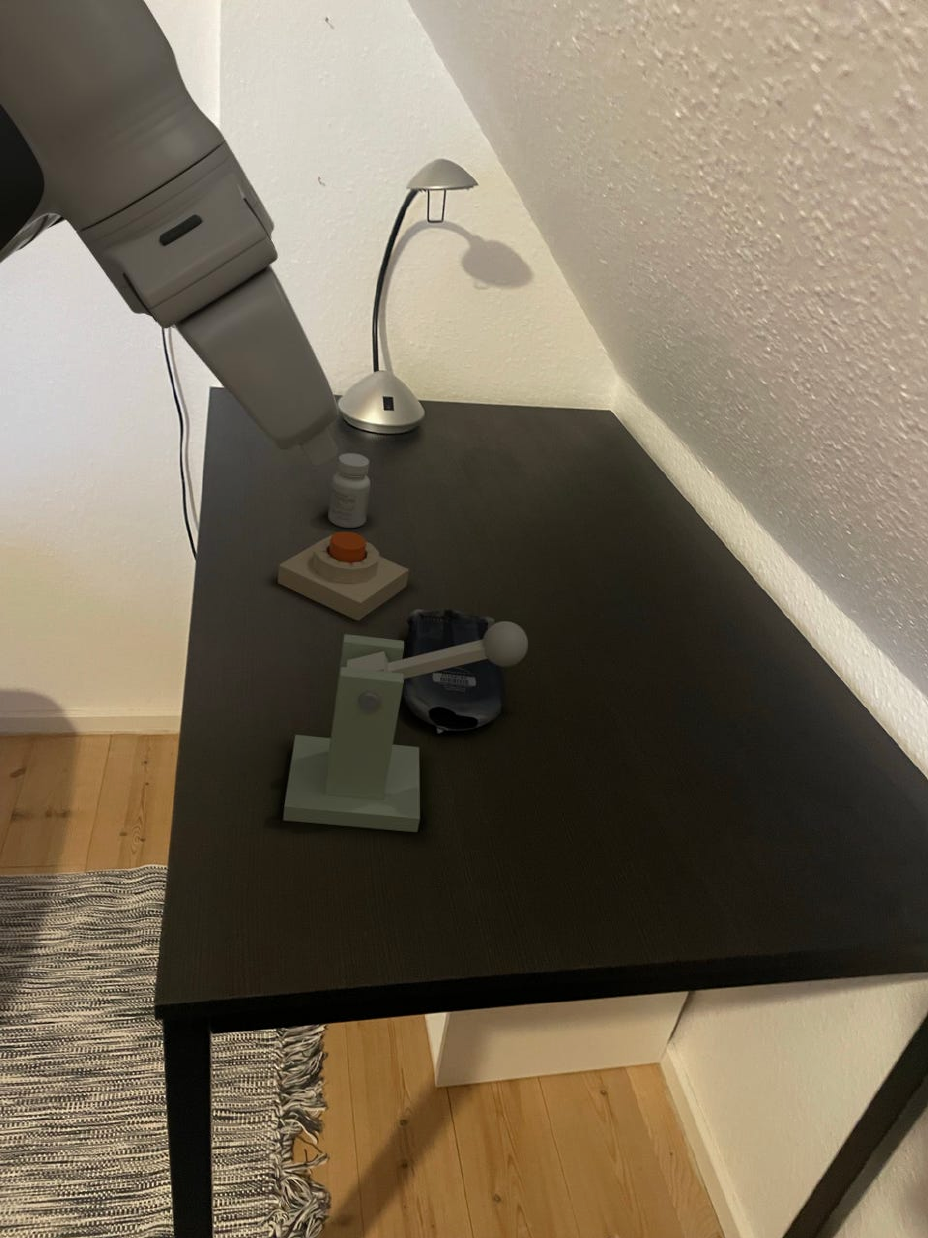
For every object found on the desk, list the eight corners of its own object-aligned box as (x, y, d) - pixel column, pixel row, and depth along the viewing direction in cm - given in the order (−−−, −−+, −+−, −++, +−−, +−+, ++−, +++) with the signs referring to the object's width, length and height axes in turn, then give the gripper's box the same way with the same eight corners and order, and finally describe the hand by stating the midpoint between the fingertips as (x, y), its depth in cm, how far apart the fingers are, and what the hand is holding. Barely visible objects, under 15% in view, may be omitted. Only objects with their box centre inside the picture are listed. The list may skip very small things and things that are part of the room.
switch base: (416, 760, 78) (441, 633, 71) (417, 832, 71) (444, 700, 64) (293, 748, 76) (307, 617, 69) (282, 820, 70) (296, 684, 63)
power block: (277, 583, 96) (280, 549, 94) (329, 552, 103) (333, 519, 101) (357, 621, 93) (362, 587, 91) (406, 586, 100) (411, 554, 98)
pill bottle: (351, 508, 113) (358, 448, 109) (372, 525, 110) (381, 464, 106) (320, 514, 110) (326, 453, 106) (341, 532, 108) (349, 470, 103)
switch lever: (529, 643, 69) (519, 608, 67) (534, 669, 66) (524, 633, 64) (359, 685, 70) (345, 651, 68) (357, 712, 67) (343, 678, 66)
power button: (321, 554, 95) (323, 539, 95) (342, 542, 98) (344, 527, 97) (351, 568, 94) (353, 552, 93) (371, 555, 97) (373, 540, 96)
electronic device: (392, 645, 93) (399, 727, 80) (407, 595, 91) (416, 671, 78) (482, 665, 95) (503, 748, 82) (499, 617, 93) (523, 694, 80)
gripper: (127, 246, 57) (254, 432, 65) (141, 304, 40) (311, 547, 48) (215, 192, 58) (331, 383, 65) (266, 226, 41) (415, 480, 48)
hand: (323, 454), depth 57 cm, fingers closed
